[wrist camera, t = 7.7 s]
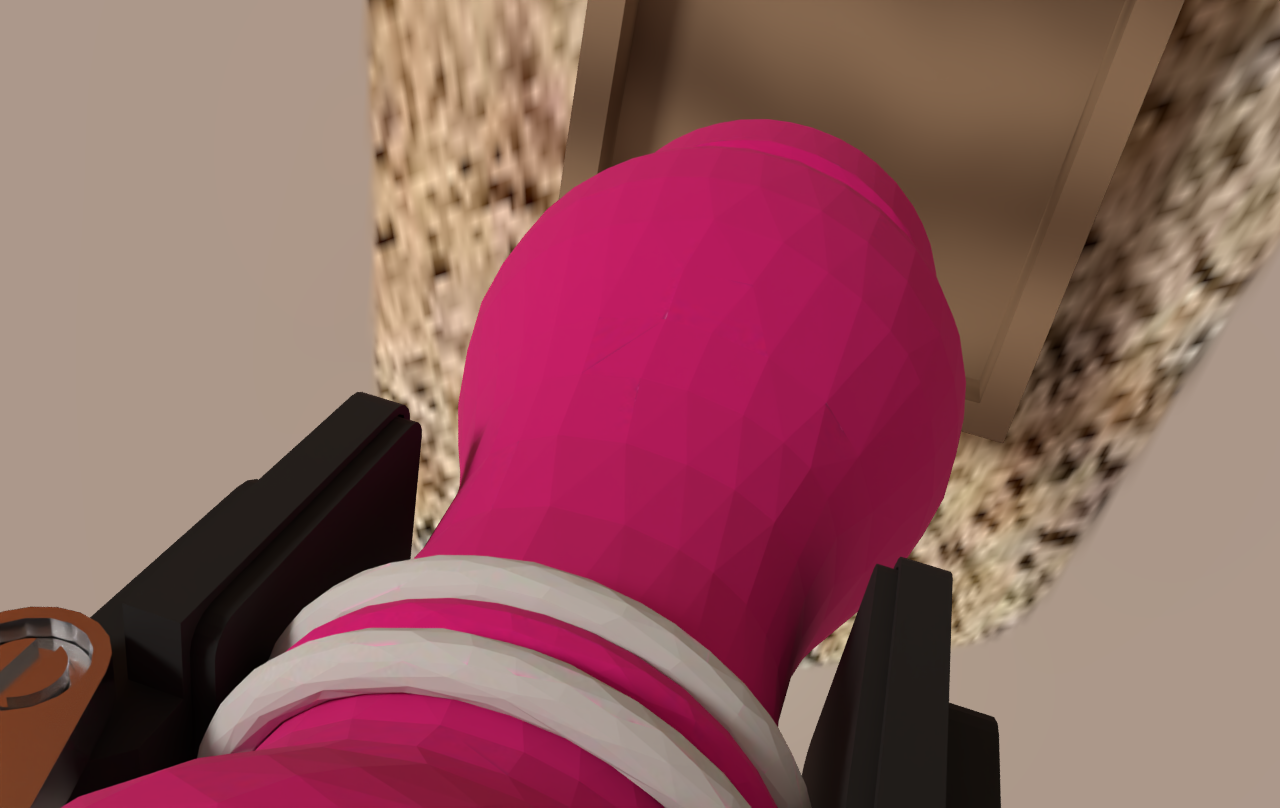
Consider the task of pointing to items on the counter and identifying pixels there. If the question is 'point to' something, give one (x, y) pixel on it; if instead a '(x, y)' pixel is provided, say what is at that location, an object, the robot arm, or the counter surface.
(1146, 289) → the counter surface
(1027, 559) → the counter surface
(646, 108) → the tray
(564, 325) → the pepper mill
